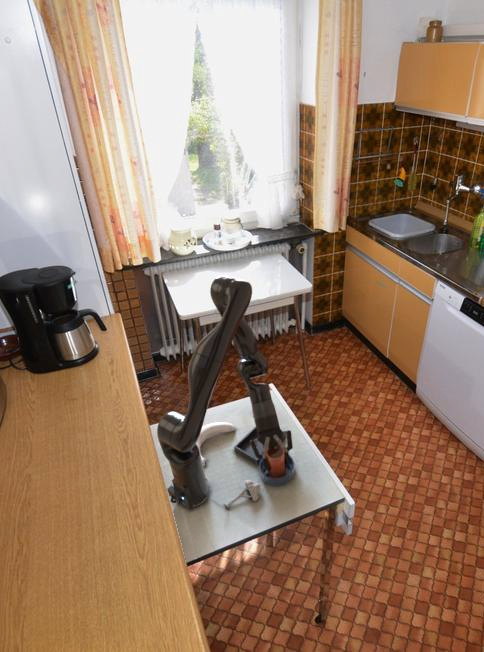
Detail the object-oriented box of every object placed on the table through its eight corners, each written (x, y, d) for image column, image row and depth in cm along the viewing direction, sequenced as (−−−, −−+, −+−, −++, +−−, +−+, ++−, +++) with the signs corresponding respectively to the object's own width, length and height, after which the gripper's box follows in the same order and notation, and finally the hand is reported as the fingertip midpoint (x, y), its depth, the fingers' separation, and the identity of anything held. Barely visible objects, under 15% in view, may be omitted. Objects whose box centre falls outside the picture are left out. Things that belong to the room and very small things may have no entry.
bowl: (280, 493, 138) (279, 485, 136) (253, 476, 144) (252, 468, 142) (301, 469, 145) (300, 461, 143) (274, 453, 151) (273, 445, 149)
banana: (229, 421, 166) (247, 446, 155) (183, 444, 159) (197, 472, 148) (227, 412, 163) (245, 437, 152) (179, 435, 157) (194, 462, 146)
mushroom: (220, 493, 135) (253, 473, 138) (222, 499, 138) (255, 478, 142) (230, 513, 131) (265, 491, 134) (232, 518, 134) (266, 497, 138)
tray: (257, 465, 148) (257, 460, 146) (234, 451, 154) (233, 446, 152) (284, 437, 157) (284, 432, 156) (262, 425, 163) (261, 420, 162)
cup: (278, 482, 141) (276, 462, 136) (264, 473, 144) (262, 453, 139) (289, 469, 145) (288, 450, 139) (275, 461, 148) (273, 442, 143)
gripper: (244, 420, 139) (258, 474, 136) (287, 409, 142) (301, 462, 139) (242, 421, 146) (255, 472, 143) (283, 410, 149) (296, 460, 146)
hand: (278, 467), depth 141 cm, fingers closed on cup, 6 cm apart
